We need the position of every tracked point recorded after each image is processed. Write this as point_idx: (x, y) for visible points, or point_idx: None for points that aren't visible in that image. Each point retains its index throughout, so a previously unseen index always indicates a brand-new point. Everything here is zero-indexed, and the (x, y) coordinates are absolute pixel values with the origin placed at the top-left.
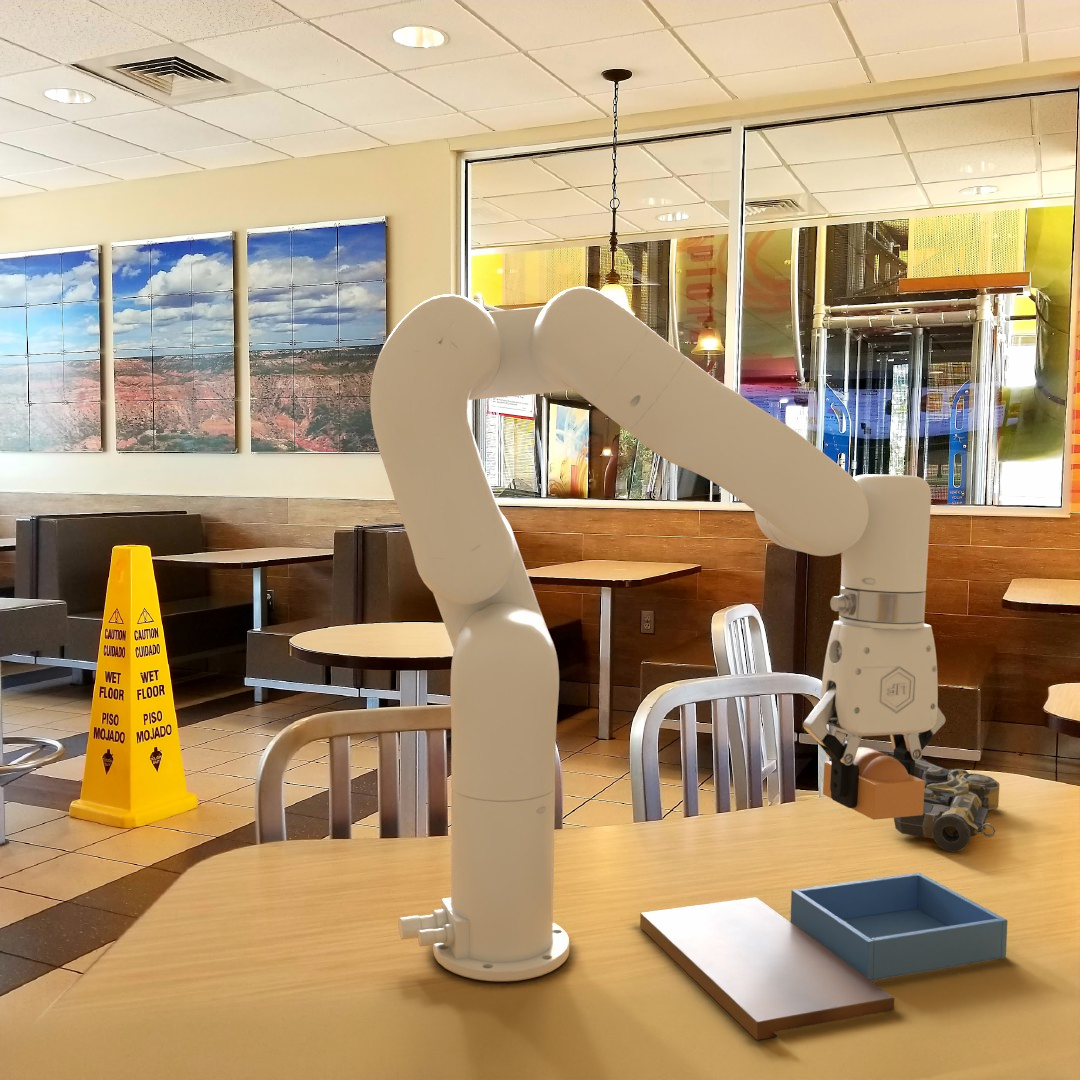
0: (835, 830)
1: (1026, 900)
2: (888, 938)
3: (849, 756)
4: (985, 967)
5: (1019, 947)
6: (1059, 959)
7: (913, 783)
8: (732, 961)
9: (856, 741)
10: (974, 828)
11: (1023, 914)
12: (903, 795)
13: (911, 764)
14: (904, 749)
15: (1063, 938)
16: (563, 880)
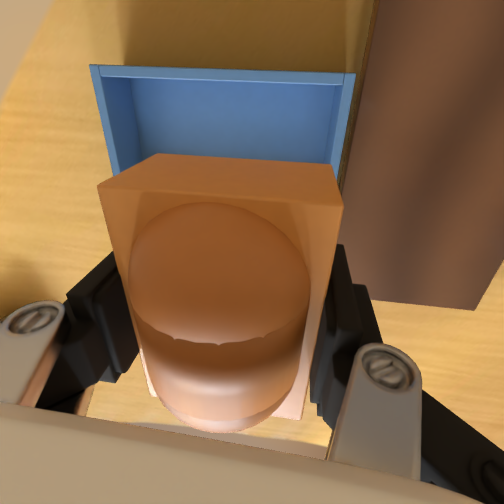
0: (130, 377)
1: (16, 200)
2: (315, 73)
3: (382, 378)
4: (157, 63)
5: (83, 98)
6: (48, 46)
7: (152, 187)
8: (498, 167)
9: (358, 449)
10: (1, 322)
11: (35, 172)
12: (210, 176)
13: (86, 289)
14: (66, 360)
15: (16, 99)
16: (443, 394)
